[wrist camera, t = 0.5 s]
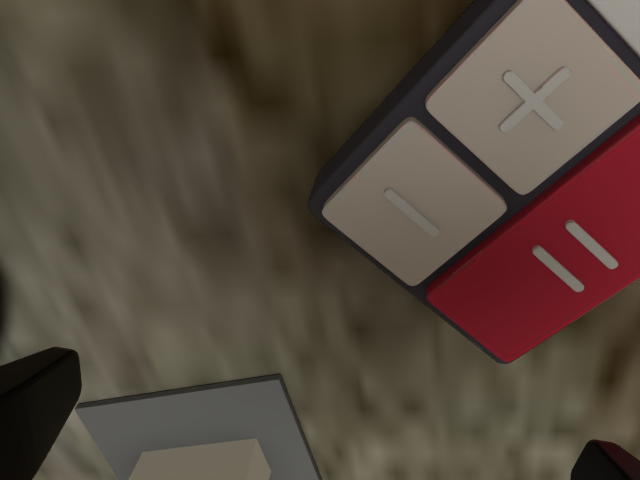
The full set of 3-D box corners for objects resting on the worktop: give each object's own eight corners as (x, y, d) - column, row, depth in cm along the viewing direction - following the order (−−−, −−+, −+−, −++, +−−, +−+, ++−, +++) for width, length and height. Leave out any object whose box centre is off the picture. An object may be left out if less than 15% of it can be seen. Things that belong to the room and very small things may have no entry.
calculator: (297, 216, 19) (699, -212, 12) (314, 171, 22) (628, -175, 16) (507, 383, 21) (941, 107, 14) (491, 317, 25) (830, 74, 18)
